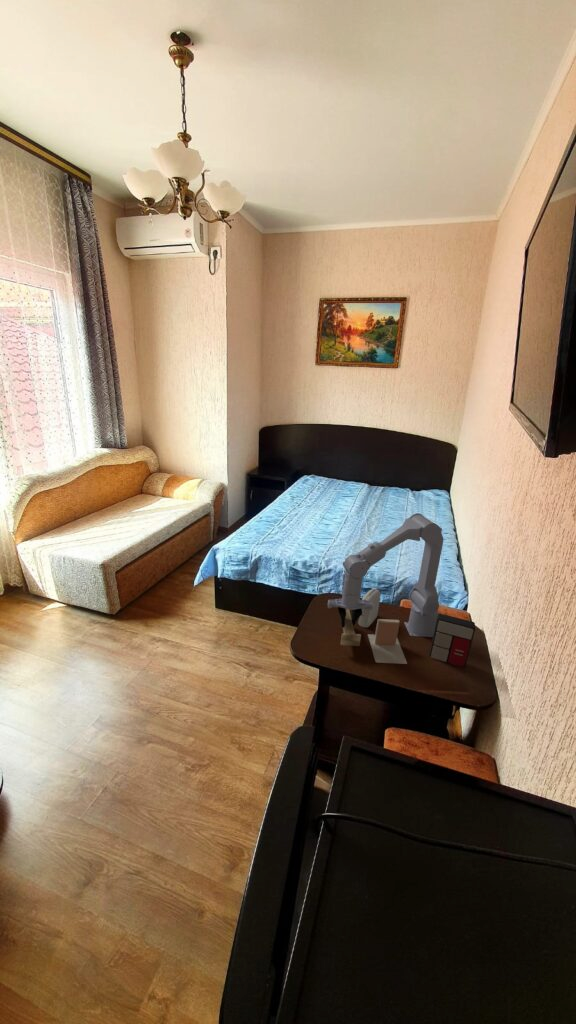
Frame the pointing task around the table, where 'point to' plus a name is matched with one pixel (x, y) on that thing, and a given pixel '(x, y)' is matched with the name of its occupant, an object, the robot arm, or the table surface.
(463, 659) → the grey red panelled box
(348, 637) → the tan wooden slat
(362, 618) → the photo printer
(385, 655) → the mat
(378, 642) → the tile
